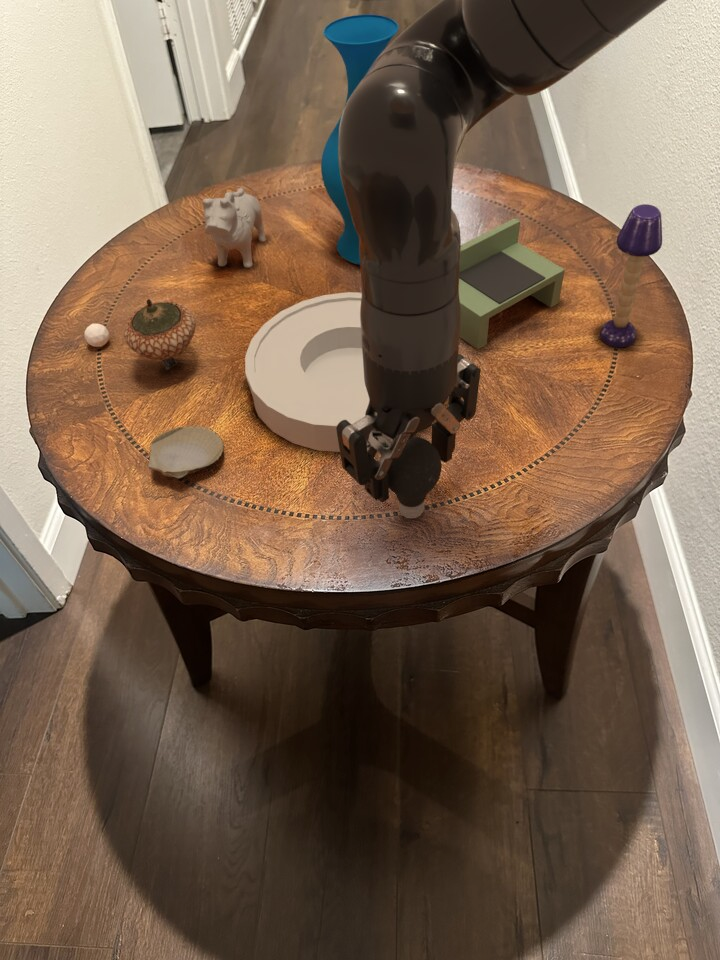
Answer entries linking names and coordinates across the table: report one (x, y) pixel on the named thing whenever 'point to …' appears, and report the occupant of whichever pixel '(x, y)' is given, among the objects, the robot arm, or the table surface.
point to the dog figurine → (233, 224)
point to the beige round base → (310, 370)
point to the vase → (359, 50)
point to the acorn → (160, 331)
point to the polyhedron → (96, 335)
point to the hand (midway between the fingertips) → (411, 475)
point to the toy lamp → (633, 269)
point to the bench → (501, 279)
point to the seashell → (184, 450)
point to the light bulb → (414, 475)
